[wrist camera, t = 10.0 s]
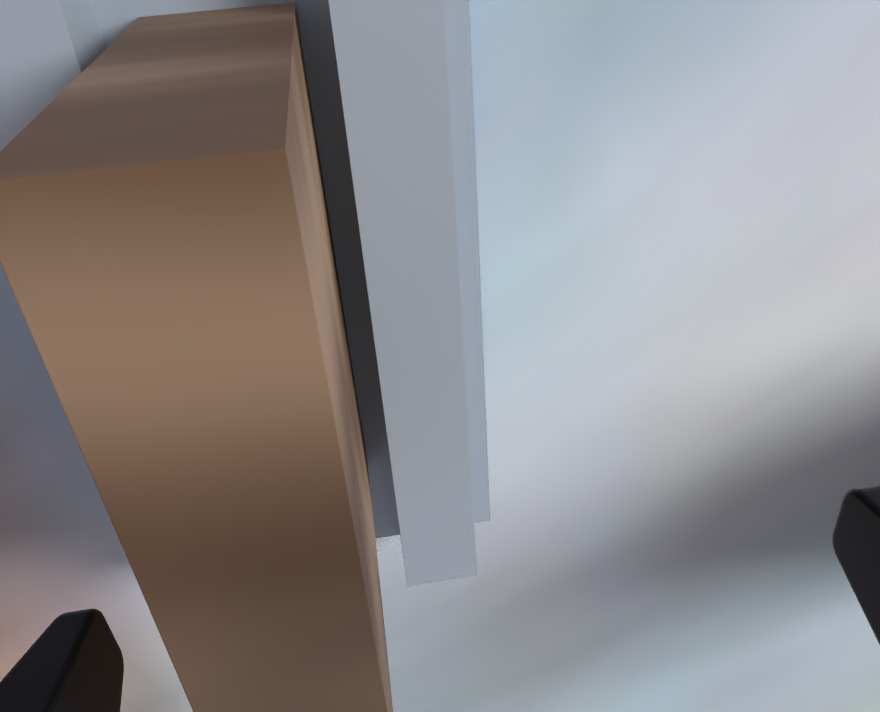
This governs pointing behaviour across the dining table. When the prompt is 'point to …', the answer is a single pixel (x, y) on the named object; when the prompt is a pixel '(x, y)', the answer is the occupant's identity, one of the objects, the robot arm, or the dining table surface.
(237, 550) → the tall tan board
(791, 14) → the dining table surface
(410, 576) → the display stand
